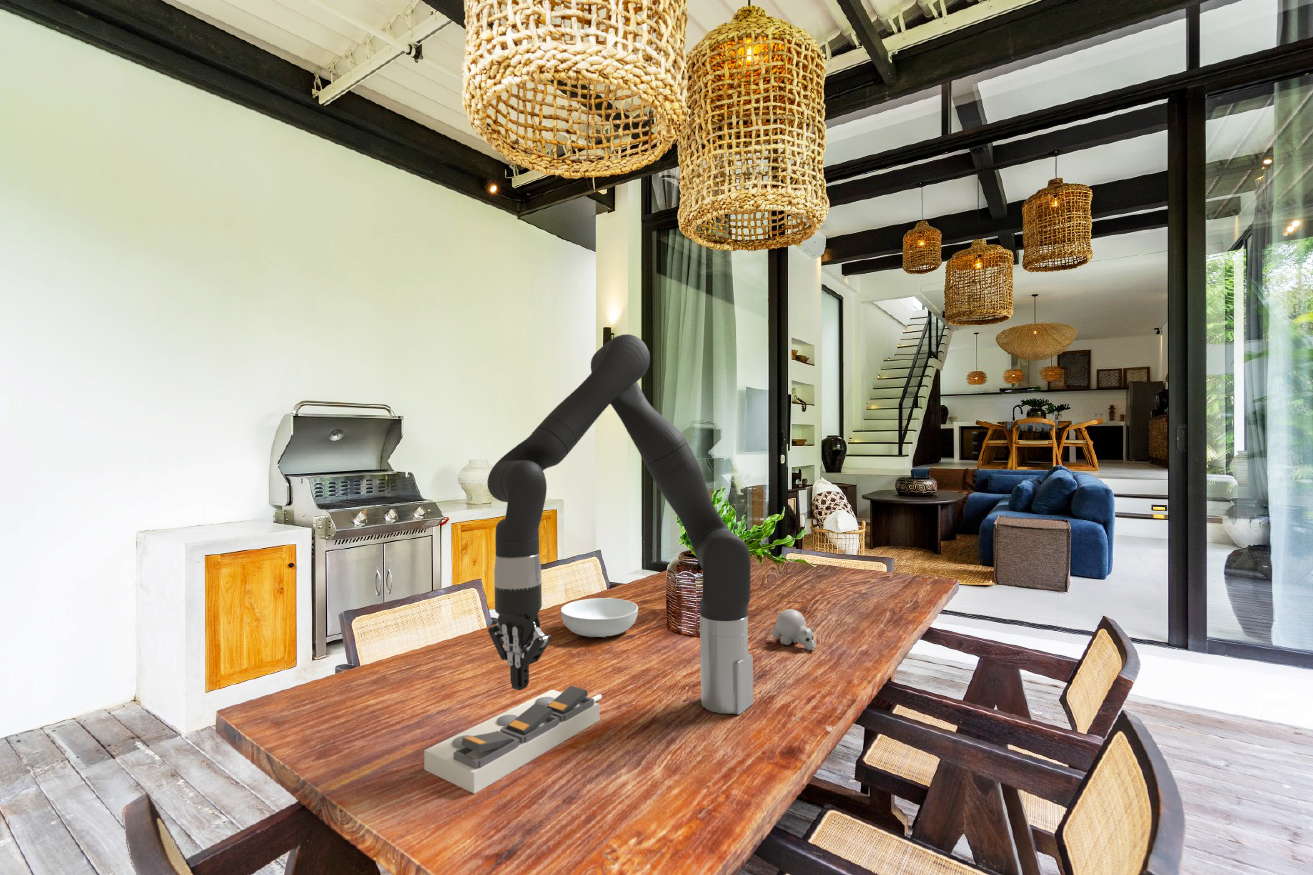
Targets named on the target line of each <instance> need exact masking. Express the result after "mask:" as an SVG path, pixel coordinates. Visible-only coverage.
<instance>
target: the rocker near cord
mask: <svg viewBox="0 0 1313 875" xmlns="http://www.w3.org/2000/svg"><path fill="white" fill-rule="evenodd" d="M585 697H589V694H588V689H587V690H586V689H583V688H581V687H577V686H573V685H569V687H567V688H566V689H565V690H564V691H563V692H562V693H561V694H560V695H559V696H558V697H557V698H556V699H554V700H553V701H552V702H551V703H550V704H549V705H547V708H551V709H552V711H554V712H557V713H560V714H565V713H567V712H569V711H571V710H572V709H573V708H574V707H575V706H577V705H578V704H579V703H580V702H581V701H582V700H583V699H584V698H585Z"/></svg>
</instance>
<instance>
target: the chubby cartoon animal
mask: <svg viewBox="0 0 1313 875" xmlns="http://www.w3.org/2000/svg"><path fill="white" fill-rule="evenodd" d="M775 622H776V623H775V626H773V628H772V630H771V635H772V637H774V638H776V639H780V640H779V641H780V643H781V645H782V644H785V645H789V644H790V645H791V644H792V642H798V643H799V644H800V645H801V644H802V646H804V648H805V650H806V649H807V651H809V650H812V651H814V649H815V648H816V646H817V640H815V639H814V638H815V636H814V630H815V627H811V628H809V627H807V622H806V619H805V617H804V615H803V614H802V613H801V612H800V611H798V610H796V609H794V608H793V609H792V608H790V609H789V608H788V609H784V610H782V611H781V612H780V613H779V614H778V616H777V618H776V621H775ZM790 645H789V646H790Z"/></svg>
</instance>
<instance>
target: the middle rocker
mask: <svg viewBox="0 0 1313 875" xmlns="http://www.w3.org/2000/svg"><path fill="white" fill-rule="evenodd" d="M552 714H553V713H552V709H551V708H547V707H544V706H541V705H538V704H534V705H532V706H531V707H530V708H529V709H527V710H526V711H525V712H524V713H522V714H521V715H520V716H518V717H517V718H516V719H515V720H513V721H512V722H511V723H509V724H508V725H507V727H508V730H510V731H513V732H516V733H518V734H521V735H526V734H528V733H530V732H532V731H533V730H534V729H536V728H537V727H538V726H539V725H540V724H542V723H543V722H544V721H545V720H546V719H548V718H549V717H550V716H551V715H552Z"/></svg>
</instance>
